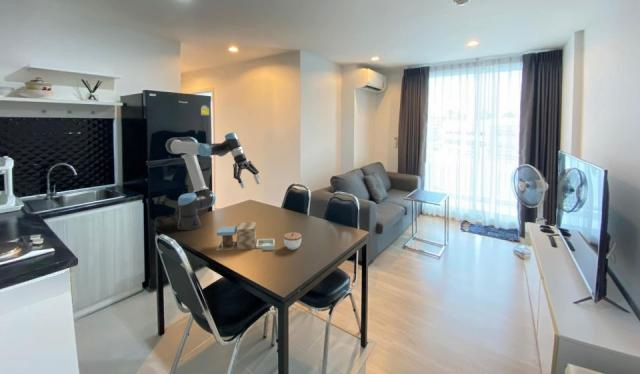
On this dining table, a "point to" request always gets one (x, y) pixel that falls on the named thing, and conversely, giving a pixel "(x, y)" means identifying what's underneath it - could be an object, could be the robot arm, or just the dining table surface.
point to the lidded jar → (292, 240)
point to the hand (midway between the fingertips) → (251, 185)
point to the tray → (266, 244)
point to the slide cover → (226, 230)
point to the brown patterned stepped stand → (243, 237)
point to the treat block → (227, 241)
